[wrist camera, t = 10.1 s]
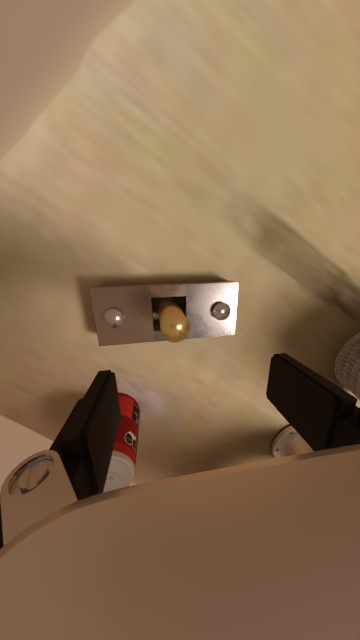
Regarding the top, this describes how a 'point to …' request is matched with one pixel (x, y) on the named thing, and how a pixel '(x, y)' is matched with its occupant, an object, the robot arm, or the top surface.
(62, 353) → the top surface
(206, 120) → the top surface
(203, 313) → the bolted slotted plate
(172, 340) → the pin
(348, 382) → the vase
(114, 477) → the canned food
